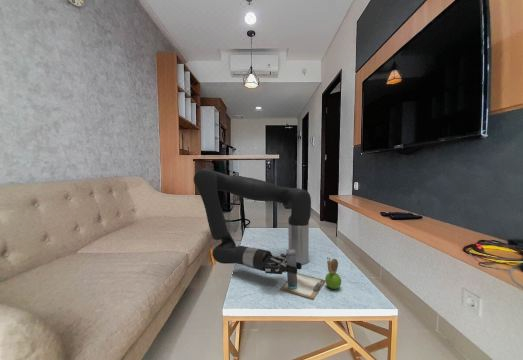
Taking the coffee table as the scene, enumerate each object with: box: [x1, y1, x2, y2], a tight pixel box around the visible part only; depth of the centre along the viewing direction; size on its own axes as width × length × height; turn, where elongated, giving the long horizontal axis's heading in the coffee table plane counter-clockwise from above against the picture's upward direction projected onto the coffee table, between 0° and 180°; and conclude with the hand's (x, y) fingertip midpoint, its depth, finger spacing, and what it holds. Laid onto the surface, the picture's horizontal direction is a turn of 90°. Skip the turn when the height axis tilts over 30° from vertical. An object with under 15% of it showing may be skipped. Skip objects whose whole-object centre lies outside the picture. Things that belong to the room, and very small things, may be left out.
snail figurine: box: [324, 256, 342, 290], centre depth 80 cm, size 5×6×12 cm
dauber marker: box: [285, 249, 298, 289], centre depth 80 cm, size 3×3×13 cm
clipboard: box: [279, 272, 326, 301], centre depth 82 cm, size 14×12×1 cm
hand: (298, 268), depth 78 cm, fingers closed on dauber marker, 3 cm apart
